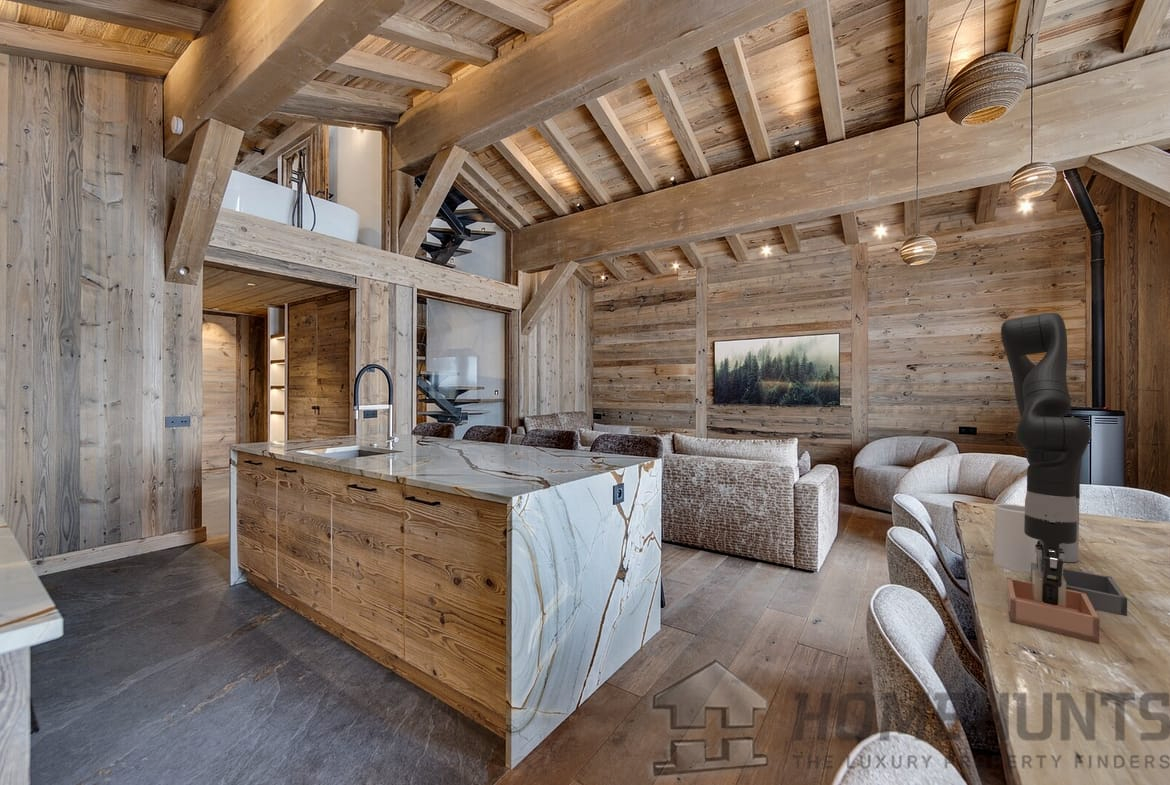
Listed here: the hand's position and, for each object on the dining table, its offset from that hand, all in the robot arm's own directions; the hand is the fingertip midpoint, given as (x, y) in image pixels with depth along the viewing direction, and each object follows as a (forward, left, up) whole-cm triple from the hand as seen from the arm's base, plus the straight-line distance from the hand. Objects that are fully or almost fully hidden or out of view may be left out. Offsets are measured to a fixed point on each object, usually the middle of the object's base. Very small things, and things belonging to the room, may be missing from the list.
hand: (1048, 598), depth 94 cm
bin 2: (-16, +6, -4) cm, 17 cm away
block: (0, 0, 0) cm, 0 cm away
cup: (-30, -3, -4) cm, 30 cm away
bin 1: (0, 0, -4) cm, 4 cm away
